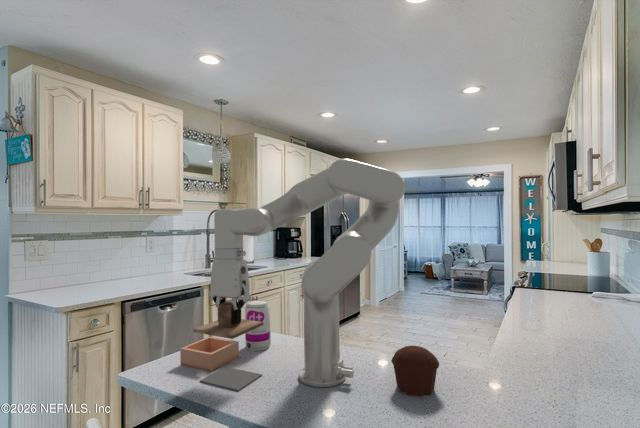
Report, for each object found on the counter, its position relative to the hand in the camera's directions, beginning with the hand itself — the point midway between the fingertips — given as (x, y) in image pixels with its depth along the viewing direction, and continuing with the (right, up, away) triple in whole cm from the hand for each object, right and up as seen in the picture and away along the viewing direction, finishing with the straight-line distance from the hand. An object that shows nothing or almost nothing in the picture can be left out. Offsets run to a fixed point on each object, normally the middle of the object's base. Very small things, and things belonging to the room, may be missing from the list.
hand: (229, 321), depth 101 cm
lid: (0, -2, 0) cm, 2 cm away
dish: (-9, -16, +12) cm, 22 cm away
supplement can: (+4, -16, +24) cm, 29 cm away
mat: (0, -15, 0) cm, 15 cm away
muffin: (+48, -15, -7) cm, 51 cm away
